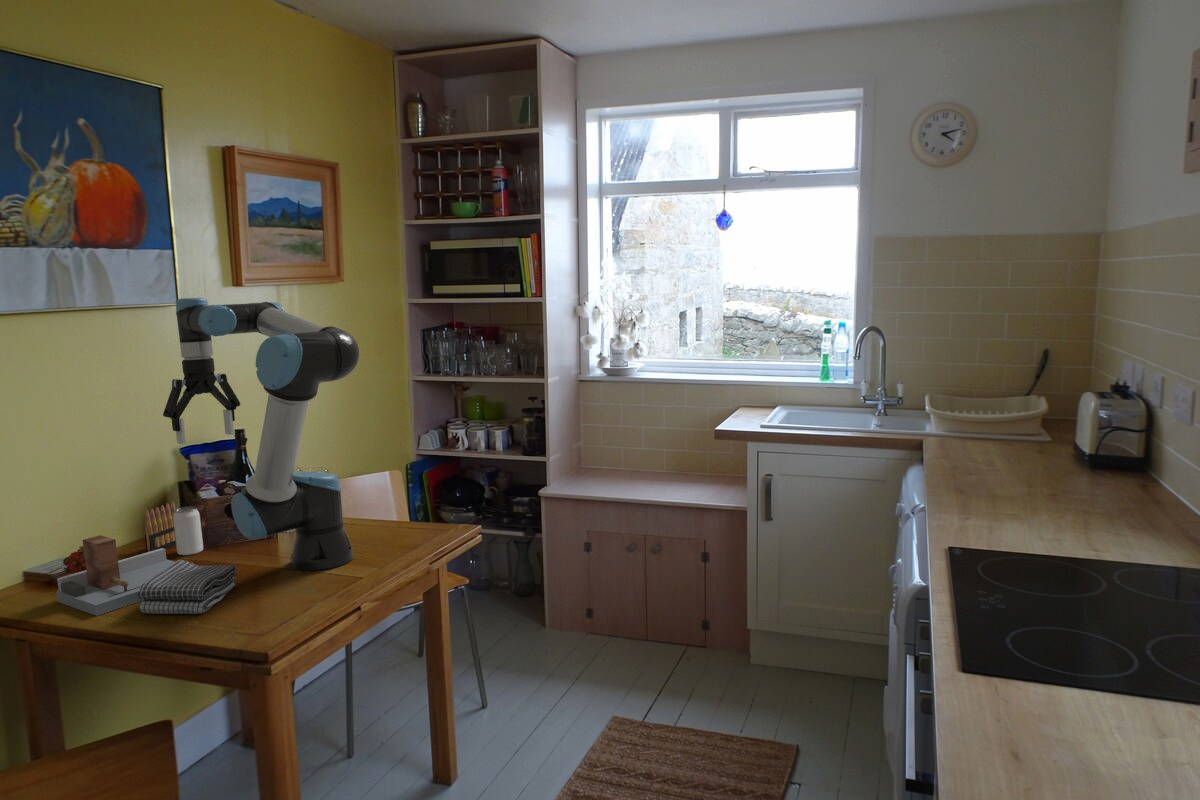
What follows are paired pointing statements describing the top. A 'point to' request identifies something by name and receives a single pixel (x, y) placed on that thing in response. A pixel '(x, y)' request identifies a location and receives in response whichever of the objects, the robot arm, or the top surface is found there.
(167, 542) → the ammunition clip
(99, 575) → the brown blocky piece
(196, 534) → the can
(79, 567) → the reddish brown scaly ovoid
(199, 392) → the robot arm
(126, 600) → the board
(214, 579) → the towel
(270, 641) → the top surface
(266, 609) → the top surface
